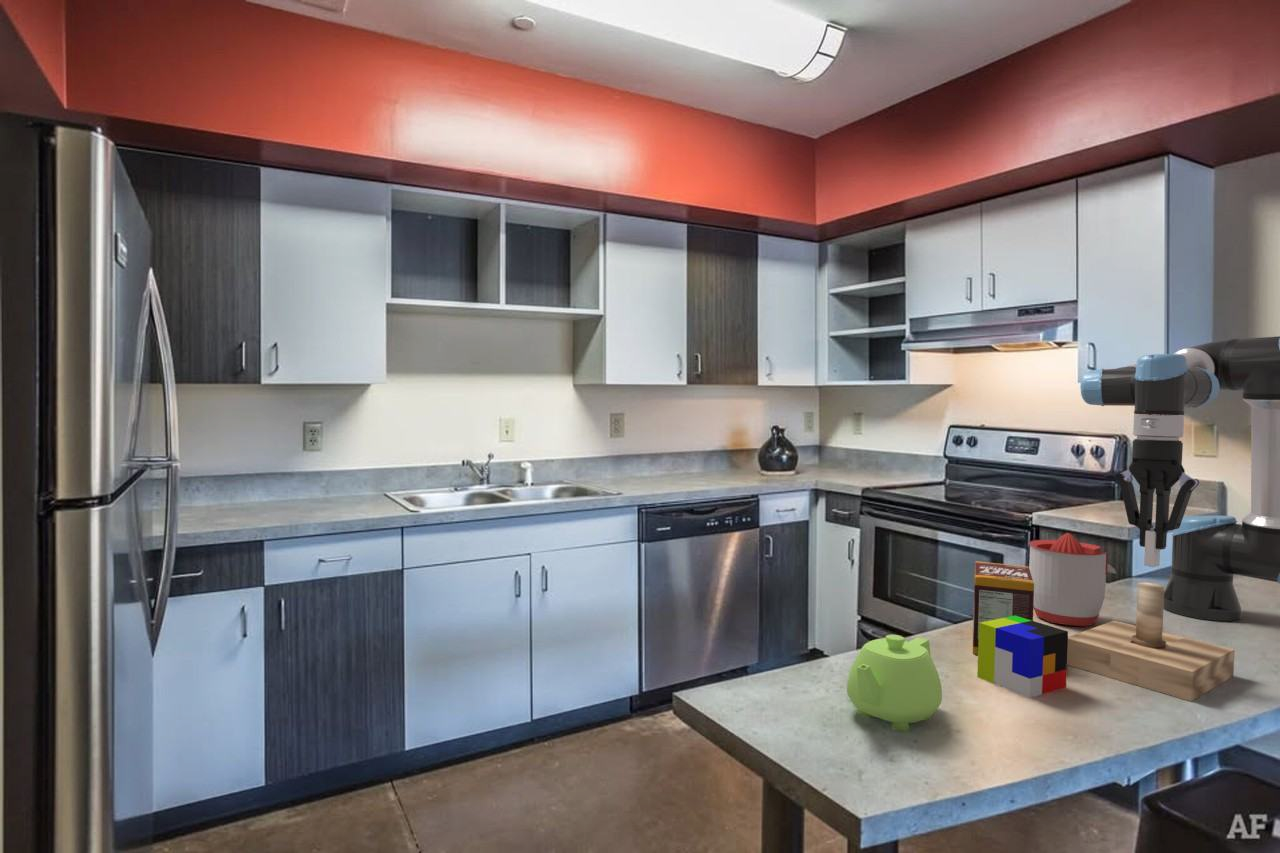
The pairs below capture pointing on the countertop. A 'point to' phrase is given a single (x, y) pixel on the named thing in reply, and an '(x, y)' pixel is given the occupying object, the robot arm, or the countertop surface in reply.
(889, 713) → the teapot
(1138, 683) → the seat board
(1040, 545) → the citrus juicer
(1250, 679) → the countertop surface
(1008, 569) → the supplement box
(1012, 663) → the puzzle toy
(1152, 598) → the leg peg
